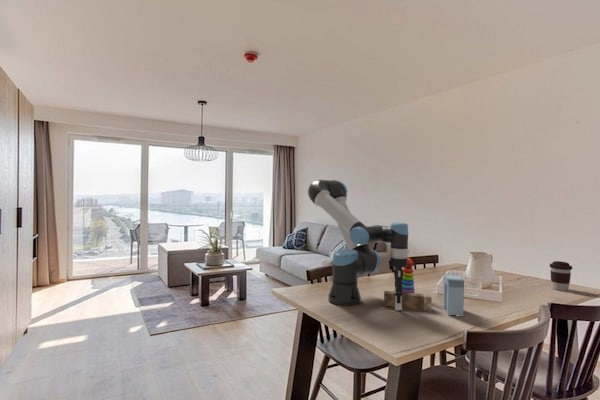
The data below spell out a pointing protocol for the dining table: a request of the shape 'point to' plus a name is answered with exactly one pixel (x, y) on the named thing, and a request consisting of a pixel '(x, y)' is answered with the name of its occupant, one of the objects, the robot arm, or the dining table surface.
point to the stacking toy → (408, 278)
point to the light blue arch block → (453, 294)
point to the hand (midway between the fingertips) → (397, 306)
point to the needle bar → (409, 300)
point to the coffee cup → (560, 275)
